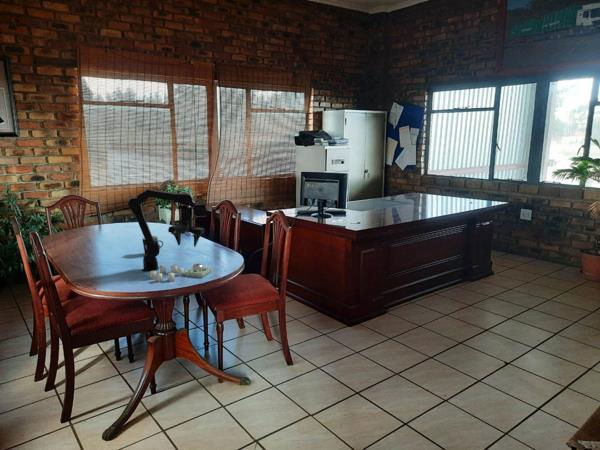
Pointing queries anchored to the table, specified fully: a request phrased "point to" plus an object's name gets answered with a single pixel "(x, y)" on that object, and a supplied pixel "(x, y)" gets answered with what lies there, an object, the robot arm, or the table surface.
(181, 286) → the table surface
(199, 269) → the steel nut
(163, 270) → the nylon spacers
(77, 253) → the table surface
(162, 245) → the coffee mug
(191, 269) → the parts tray
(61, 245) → the table surface
